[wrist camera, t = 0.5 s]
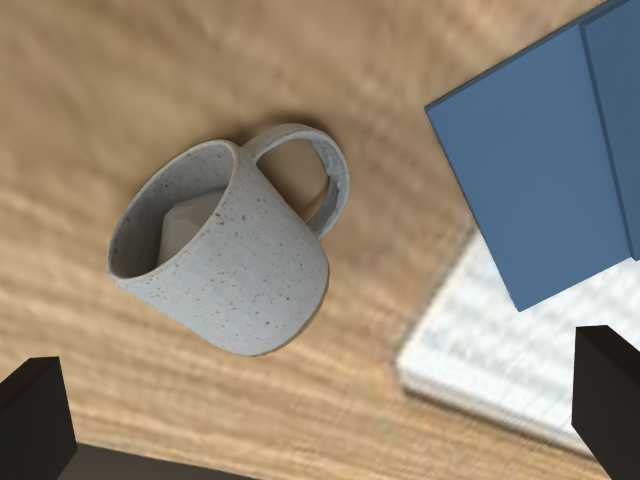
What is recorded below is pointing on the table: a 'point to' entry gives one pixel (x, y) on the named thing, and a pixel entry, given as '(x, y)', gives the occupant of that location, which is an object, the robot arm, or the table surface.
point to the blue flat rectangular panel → (553, 153)
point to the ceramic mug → (230, 243)
